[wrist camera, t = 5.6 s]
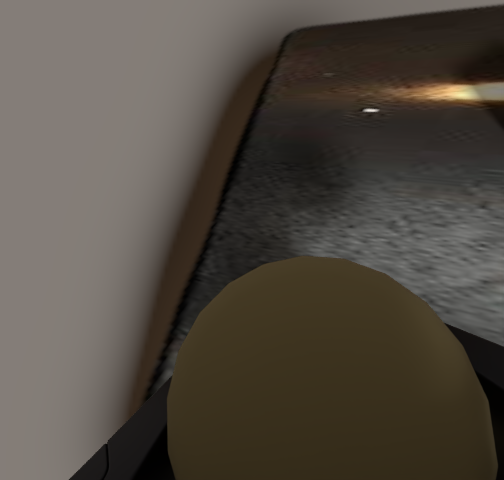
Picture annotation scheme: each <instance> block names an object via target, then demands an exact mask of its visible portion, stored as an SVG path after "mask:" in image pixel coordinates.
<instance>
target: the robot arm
mask: <svg viewBox="0 0 504 480" xmlns="http://www.w3.org/2000/svg"><path fill="white" fill-rule="evenodd" d="M444 324H445V325H446V326H447V327H448V329H449V330H450V331H451V332H452V333H453V335H454V336H455V337H456V338H457V339H458V341H459V342H460V343H461V344H462V345H463V347H464V350H465V352H466V354H467V356H468V358H469V360H470V363H471V365H472V367H473V369H474V371H475V373H476V376H477V378H478V380H479V382H480V384H481V386H482V389H483V391H484V393H485V395H486V397H487V399H488V402H489V409H490V416H491V422H492V429H493V435H494V442H495V449H496V455H497V462H498V470H497V475H496V480H504V347H503V346H501V345H498V344H496V343H493V342H491V341H488V340H486V339H483V338H481V337H478V336H476V335H473V334H471V333H468V332H466V331H463V330H461V329H458V328H456V327H453V326H451V325H448V324H446V323H444ZM172 376H173V375H172ZM172 376H171V377H170V378H169V379H168V380H167V381H166V382H165V383H164V384H163V385H162V386H161V387H160V388H159V389H158V390H157V391H156V392H155V393H154V394H153V396H152V397H151V398H150V399H149V400H148V401H147V402H146V403H145V404H144V405H143V406H142V407H141V408H140V409H139V410H138V411H137V412H136V413H135V414H134V415H133V416H132V417H131V418H130V419H129V420H128V421H127V422H126V423H125V424H124V425H123V426H122V427H121V428H120V429H119V430H118V431H117V432H116V433H115V434H114V435H113V436H112V437H111V438H110V439H109V440H108V442H107V444H104V445H103V446H102V447H101V448H100V449H99V450H98V451H97V452H96V453H95V454H94V455H93V456H92V458H90V459H89V460H88V461H87V462H86V464H84V465H83V466H82V467H81V468H80V469H79V470H78V471H77V472H76V473H75V474H74V475H73V476H72V477H71V478H70V479H69V480H175V476H174V473H173V469H172V465H171V462H170V458H169V455H168V433H167V396H168V392H169V388H170V384H171V380H172Z"/></svg>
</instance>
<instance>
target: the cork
mask: <svg viewBox="0 0 504 480" xmlns="http://www.w3.org/2000/svg"><path fill="white" fill-rule="evenodd" d="M167 433H168V455H169V458H170V462H171V465H172V469H173V473H174V476H175V480H496V475H497V470H498V462H497V455H496V449H495V442H494V435H493V429H492V422H491V416H490V409H489V402H488V399H487V397H486V395H485V393H484V391H483V389H482V386H481V384H480V382H479V380H478V378H477V376H476V373H475V371H474V369H473V367H472V365H471V363H470V360H469V358H468V356H467V354H466V352H465V350H464V347H463V345H462V344H461V343H460V342H459V341H458V339H457V338H456V337H455V336H454V335H453V333H452V332H451V331H450V330H449V329H448V327H447V326H446V325H445V324H444V323H443V321H442V320H441V319H440V318H439V317H438V315H437V314H436V313H435V312H434V311H433V309H432V308H431V307H430V306H429V305H428V304H427V302H425V301H424V300H422V299H421V298H419V297H418V296H417V295H415V294H414V293H412V292H411V291H409V290H408V289H407V288H405V287H404V286H402V285H401V284H400V283H398V282H397V281H395V280H394V279H392V278H391V277H390V276H388V275H387V274H385V273H382V272H379V271H376V270H374V269H371V268H368V267H365V266H363V265H360V264H357V263H354V262H351V261H349V260H346V259H341V258H327V257H313V256H299V257H294V258H290V259H285V260H280V261H276V262H271V263H267V264H263V265H261V266H259V267H258V268H256V269H254V270H252V271H250V272H248V273H247V274H245V275H243V276H241V277H239V278H238V279H236V280H234V281H232V282H230V283H229V284H228V285H227V286H226V287H225V288H224V289H223V290H222V291H221V292H220V293H219V294H218V295H217V296H216V297H215V298H214V299H213V300H212V301H211V302H210V303H209V304H208V305H207V306H206V307H205V308H204V309H203V310H202V311H201V312H200V313H199V315H198V317H197V319H196V321H195V322H194V324H193V326H192V328H191V330H190V331H189V333H188V335H187V337H186V339H185V340H184V342H183V344H182V346H181V348H180V349H179V352H178V356H177V360H176V364H175V368H174V372H173V376H172V380H171V384H170V388H169V392H168V396H167Z"/></svg>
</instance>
